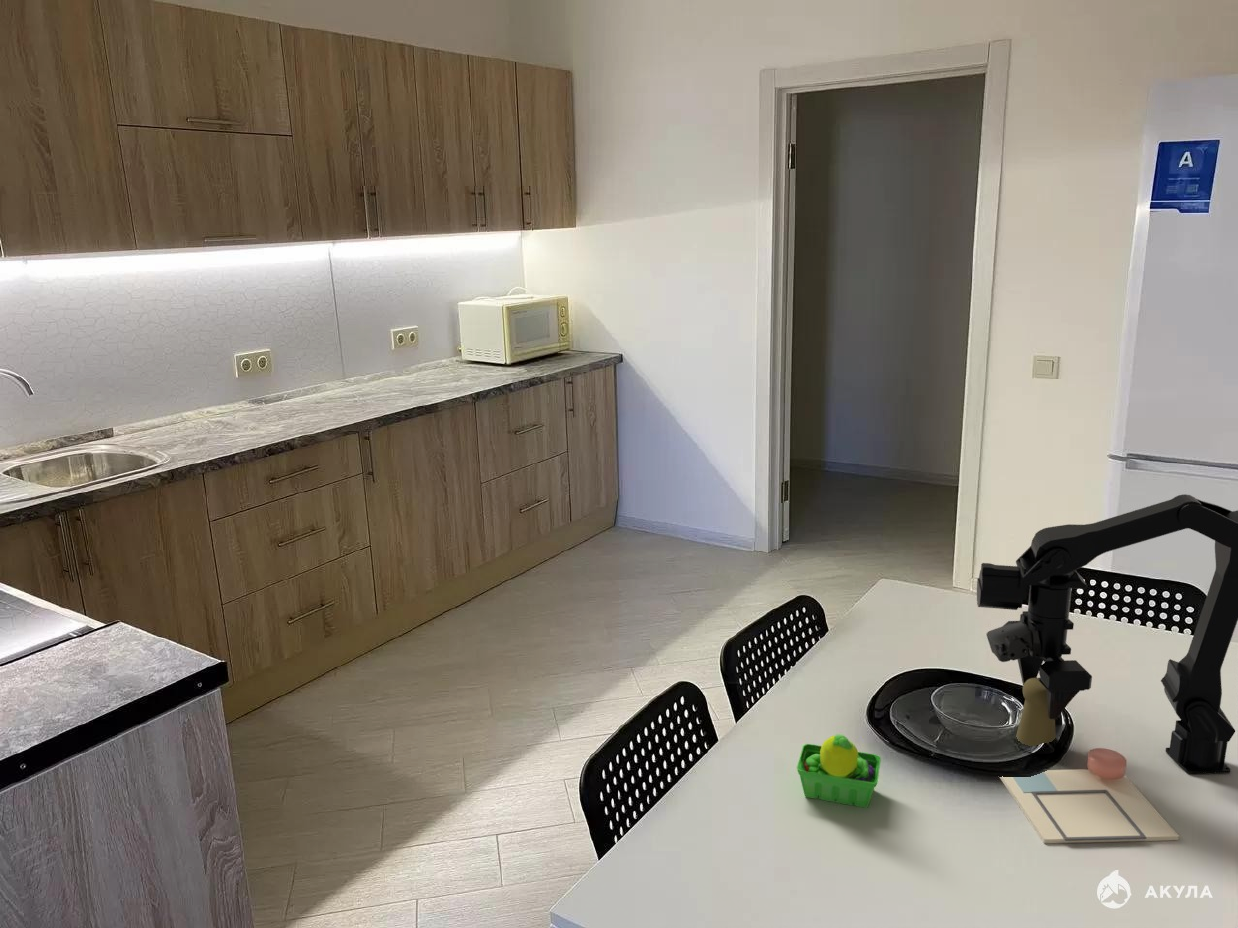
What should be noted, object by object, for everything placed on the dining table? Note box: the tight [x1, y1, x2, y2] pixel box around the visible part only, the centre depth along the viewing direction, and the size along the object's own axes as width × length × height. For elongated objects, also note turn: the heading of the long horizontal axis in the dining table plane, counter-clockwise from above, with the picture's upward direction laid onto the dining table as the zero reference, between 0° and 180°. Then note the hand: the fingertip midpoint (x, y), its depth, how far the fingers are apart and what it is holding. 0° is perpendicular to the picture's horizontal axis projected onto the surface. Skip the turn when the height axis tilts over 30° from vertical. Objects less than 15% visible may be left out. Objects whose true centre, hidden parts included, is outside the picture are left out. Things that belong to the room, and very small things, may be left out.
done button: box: [1086, 747, 1127, 779], centre depth 140 cm, size 5×5×2 cm
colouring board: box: [999, 768, 1180, 844], centre depth 135 cm, size 18×16×1 cm
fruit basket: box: [796, 734, 882, 809], centre depth 138 cm, size 11×9×11 cm
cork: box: [1015, 677, 1057, 746], centre depth 149 cm, size 6×6×11 cm
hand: (1039, 703), depth 149 cm, fingers open, 9 cm apart
